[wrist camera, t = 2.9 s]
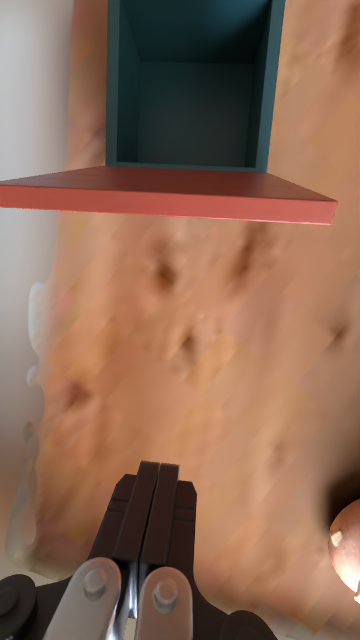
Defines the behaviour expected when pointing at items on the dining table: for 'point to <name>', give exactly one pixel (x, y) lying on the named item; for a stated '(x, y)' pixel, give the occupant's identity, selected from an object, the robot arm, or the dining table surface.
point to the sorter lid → (171, 194)
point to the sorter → (192, 83)
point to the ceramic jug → (347, 546)
